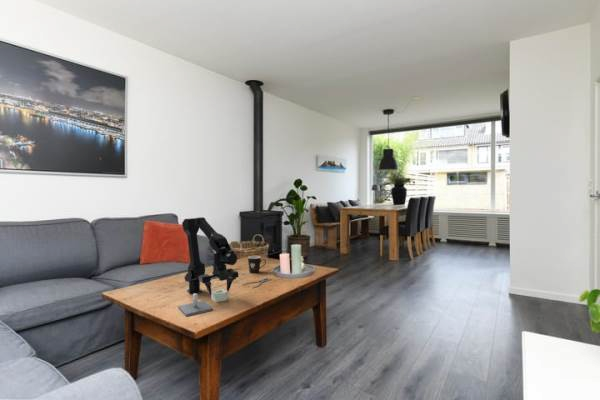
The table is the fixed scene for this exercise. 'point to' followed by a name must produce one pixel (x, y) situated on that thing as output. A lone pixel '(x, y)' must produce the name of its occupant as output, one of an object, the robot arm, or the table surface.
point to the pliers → (259, 281)
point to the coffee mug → (254, 264)
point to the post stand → (195, 307)
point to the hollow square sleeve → (219, 295)
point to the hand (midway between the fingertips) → (219, 293)
